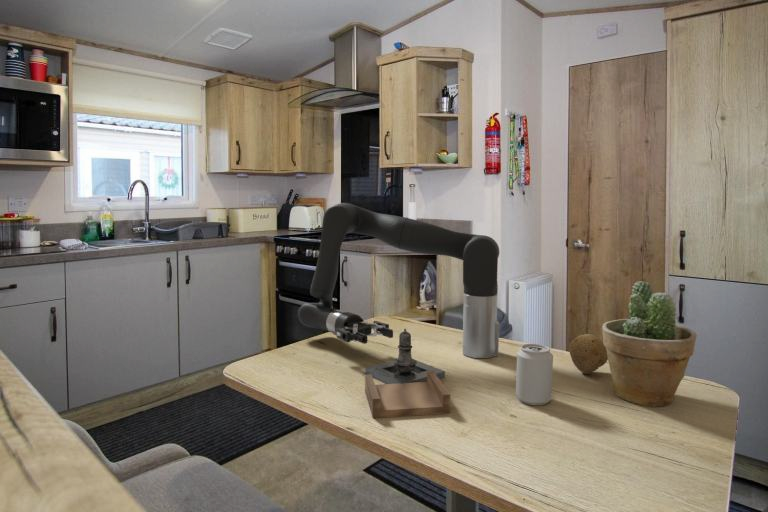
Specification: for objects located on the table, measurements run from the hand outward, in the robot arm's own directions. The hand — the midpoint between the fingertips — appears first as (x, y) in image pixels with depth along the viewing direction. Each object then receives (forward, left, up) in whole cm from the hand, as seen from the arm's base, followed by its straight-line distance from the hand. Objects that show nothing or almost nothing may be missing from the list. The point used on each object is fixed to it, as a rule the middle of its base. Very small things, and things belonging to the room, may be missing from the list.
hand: (379, 336), depth 134 cm
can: (-30, +28, -8) cm, 42 cm away
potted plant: (-55, +30, -8) cm, 63 cm away
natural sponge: (-51, +14, -8) cm, 53 cm away
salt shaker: (-5, +9, -8) cm, 13 cm away
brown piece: (-2, +25, -8) cm, 26 cm away
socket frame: (-5, +9, -8) cm, 13 cm away
